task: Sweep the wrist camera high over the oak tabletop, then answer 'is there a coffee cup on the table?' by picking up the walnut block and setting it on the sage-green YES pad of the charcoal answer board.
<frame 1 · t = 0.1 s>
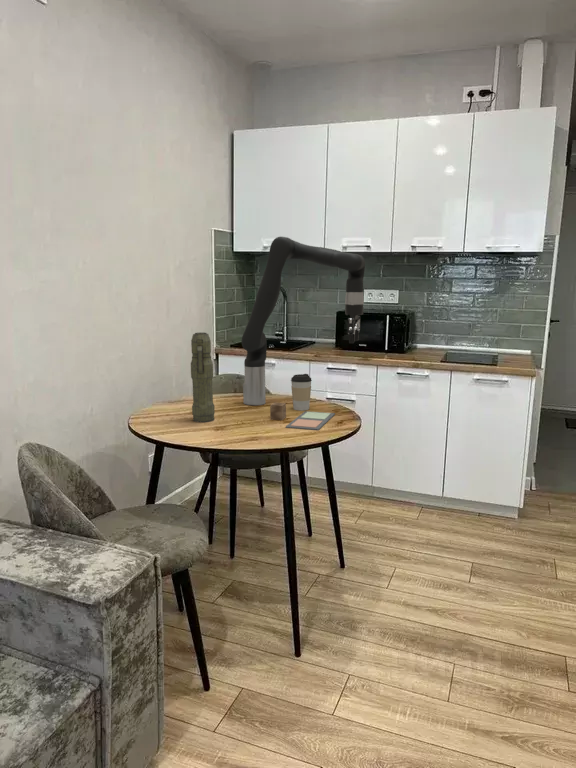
hand: (353, 342, 242), 29 cm above the table, fingers open, 8 cm apart
answer board: (311, 420, 229), on the table
coffee cup: (301, 409, 250), on the table
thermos: (203, 420, 232), on the table
walnut block: (278, 418, 234), on the table
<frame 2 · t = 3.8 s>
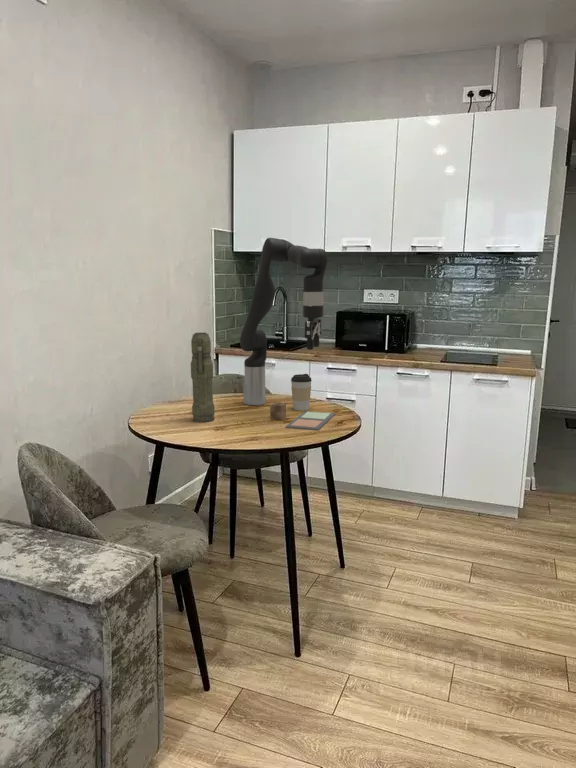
hand: (313, 348, 215), 30 cm above the table, fingers open, 8 cm apart
nothing on the table moved.
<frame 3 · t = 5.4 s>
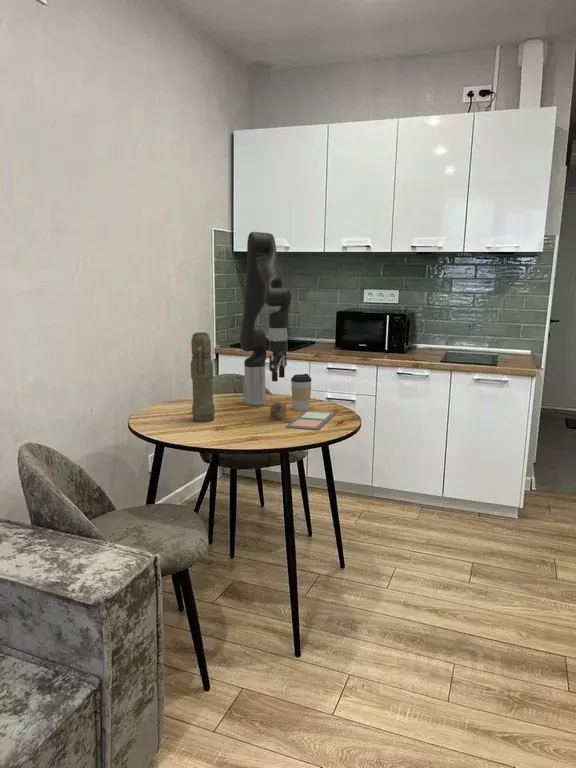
hand: (278, 379, 231), 16 cm above the table, fingers open, 8 cm apart
nothing on the table moved.
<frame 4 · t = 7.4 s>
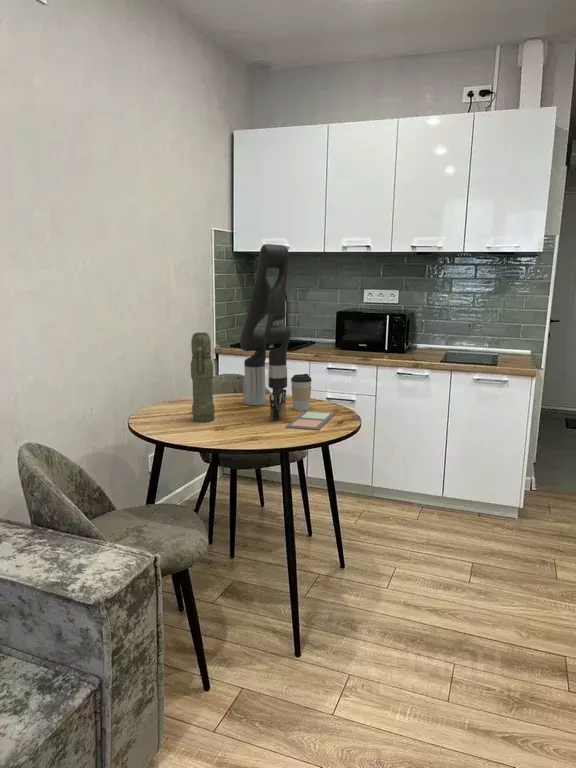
hand: (278, 416, 234), 1 cm above the table, fingers closed on walnut block, 5 cm apart
walnut block: (278, 418, 234), on the table, touching gripper
everything else where it was.
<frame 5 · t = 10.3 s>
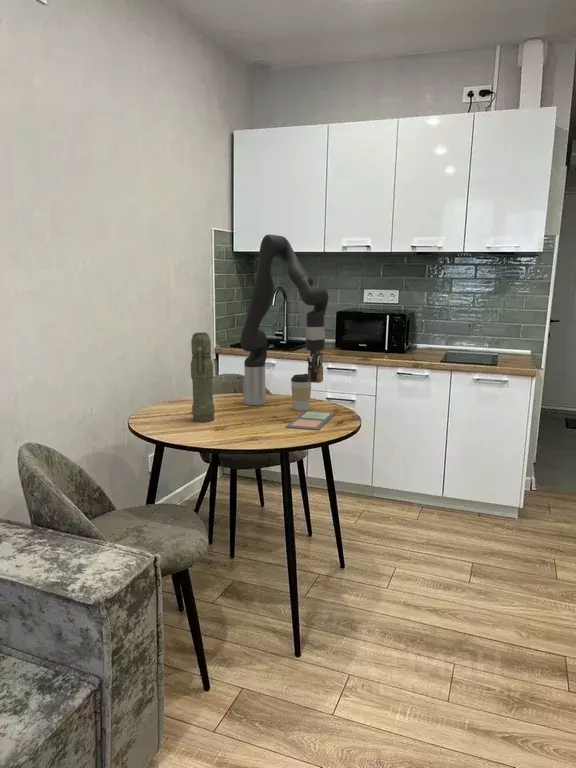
hand: (315, 379, 232), 16 cm above the table, fingers closed on walnut block, 5 cm apart
walnut block: (315, 381, 233), point 15 cm above the table, touching gripper
everything else where it was.
when the fingers open (2 cm above the table, at t = 13.2 s): walnut block stays where it is, resting on answer board.
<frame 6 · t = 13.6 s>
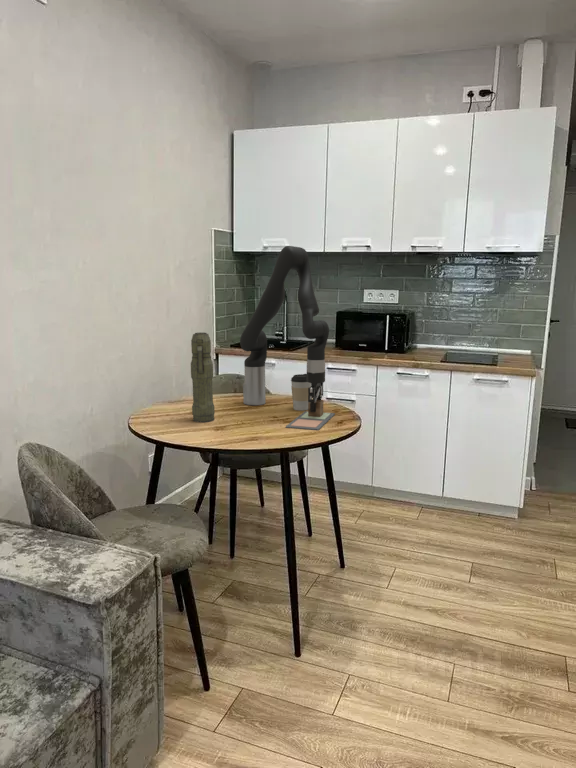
hand: (315, 409, 235), 3 cm above the table, fingers open, 8 cm apart
walnut block: (315, 415, 235), point 1 cm above the table, touching answer board
everything else where it was.
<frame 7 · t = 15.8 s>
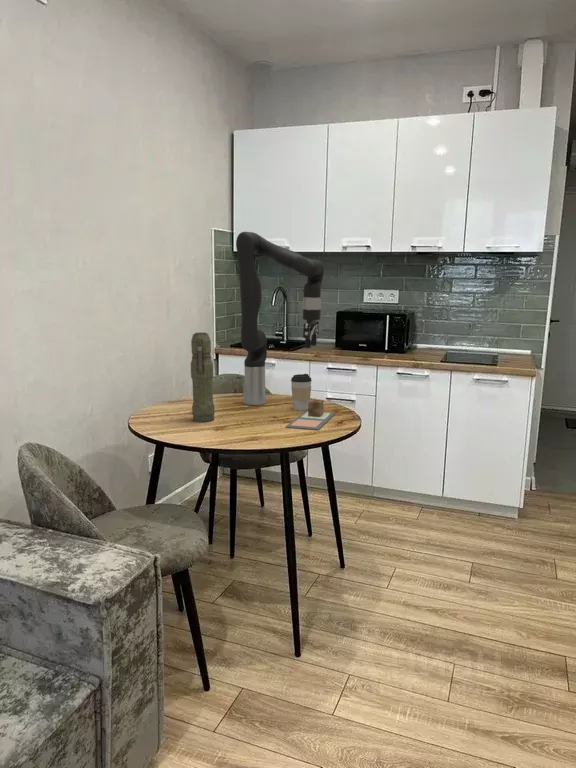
hand: (310, 346, 244), 27 cm above the table, fingers open, 8 cm apart
nothing on the table moved.
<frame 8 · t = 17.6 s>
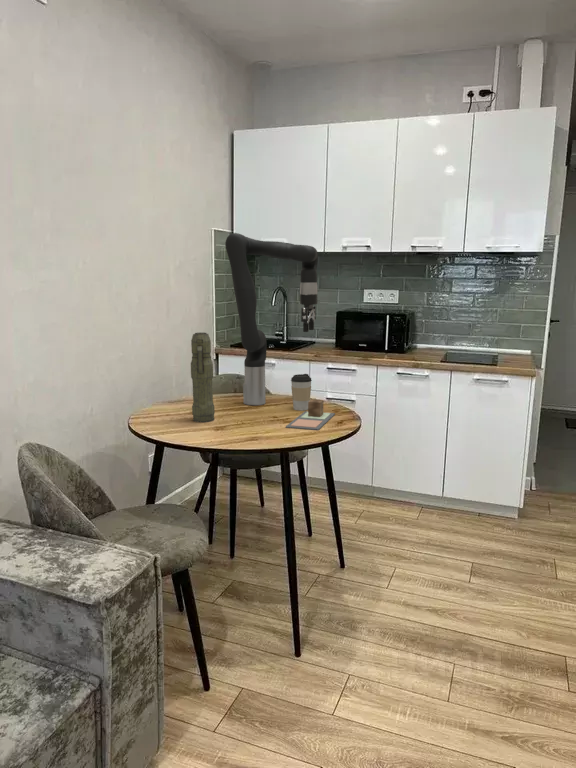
hand: (308, 330, 251), 33 cm above the table, fingers open, 8 cm apart
nothing on the table moved.
at the end: walnut block inside the target area on the answer board (0.1 cm from its centre), point 0.7 cm above the answer board's base; walnut block tilted 0°; the gripper is holding nothing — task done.
